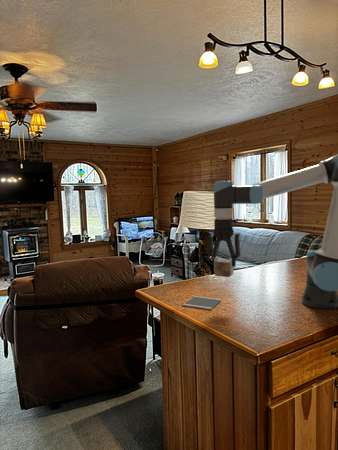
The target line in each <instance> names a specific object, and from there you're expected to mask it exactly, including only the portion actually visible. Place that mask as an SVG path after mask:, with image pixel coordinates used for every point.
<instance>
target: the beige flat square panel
mask: <svg viewBox="0 0 338 450" xmlns="http://www.w3.org/2000/svg"><path fill="white" fill-rule="evenodd" d="M220 308H221V306H217V307H216V308H215V309H216V310H219V309H220ZM221 310H223V311H229V309H227V308H221Z"/></svg>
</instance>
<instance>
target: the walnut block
mask: <svg viewBox="0 0 338 450" xmlns="http://www.w3.org/2000/svg"><path fill="white" fill-rule="evenodd" d="M214 276H215V277H223V278H229V277H231V276H232V275H230V259H225V258H224V259H223V258H218V260H217V261H215V273H214Z"/></svg>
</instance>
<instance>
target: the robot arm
mask: <svg viewBox="0 0 338 450" xmlns="http://www.w3.org/2000/svg"><path fill="white" fill-rule="evenodd" d="M321 183H322V184H323V183H324V184H330V183H331V185H332V186H333V193H332V196H331V202H330V205H329V210H328V214H327V217H326V218H327V219H326V223H325V224H326V225H325V228H324V232H323V237H322V241H321V246H320V248H318V249H317V250H310V251H309V250H308V251H307V253H306V257H305V258H306V259H305V260H306V274H305V275H306V276H305V278H306V281H305V282H306V283H305V287H304V290H303V293H302V296H301V304H303V305H304V306H307V307H310V308H313V309H317V310H318V309H320V310H333V309H334V310H335V309H338V153H337V154H336V155H333V156H331V157H329V158H327V159H324V160H320V161H319V162H318V164H316V165H313V166H309V167H305V168H302V169H300V170H295V171H293V172H289V173H286V174H283V175H279V176H276V177H273V178H270V179H266V180H263V181H260V182H256V183H252V184H247V185H246V184H244V185H243V184H242V185H234V184H233V181H232V180H218V181H215V182H214V187H213V189H214V190H213V205H214V207H213V209H214V210H213V212H214V213H213V214H214V215H213V217H214V221H213V222H214V225H213V226H214V227H213V228H214V230H213V231H212V232H211V231H210V232H207V233H206V235H207V237H208V242H207V255H208V257H211V260H212V261H211V264H212V265H213V267H214V269H213V270H214V274H215V261H217V260H219V256H218V255H217V254H218V251H219V249H220V245H221V243H222V241H223V242H225V244H227V245H226V246H227V248H228V250H229V251H228V252H229V254H230V258H229V260H230V275H231V276H232V275H233V274H234V271H235V270H234V267H236V263H237V262H236V261H237V259H238V258H240V257H241V250H240V249H241V248H240V237H241V233H239V232H235V231H234V229H233V227H234V226H233V225H234V223H233V212H234V211H233V209H234V208H233V205H244V204H245V205H247V204H248V205H250V204H251V205H256V204H262V203H263V200H265V199H268V198H271V197H276V196H279V195H283V194H286V193H289V192H293V191H296V190H301V189H303V188H307V187H310V186H314V185H318V184H321ZM232 236H233V238H234V245H233V242H232ZM214 237H215V238H216V239H215V244H214ZM213 246H214V247H213Z"/></svg>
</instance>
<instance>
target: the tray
mask: <svg viewBox="0 0 338 450" xmlns="http://www.w3.org/2000/svg"><path fill="white" fill-rule="evenodd" d="M221 302H222V299H220V298H213V297H205V296H197V295H194V296H193V297H192V298H190V299H189V300H187V301H186V302H185V303H182V307H186V308H187V307H188V308H193V309H199V310H205V311H212V310H213V309H214V308H215V307H216V306H218V305H219V304H220V303H221Z"/></svg>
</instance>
